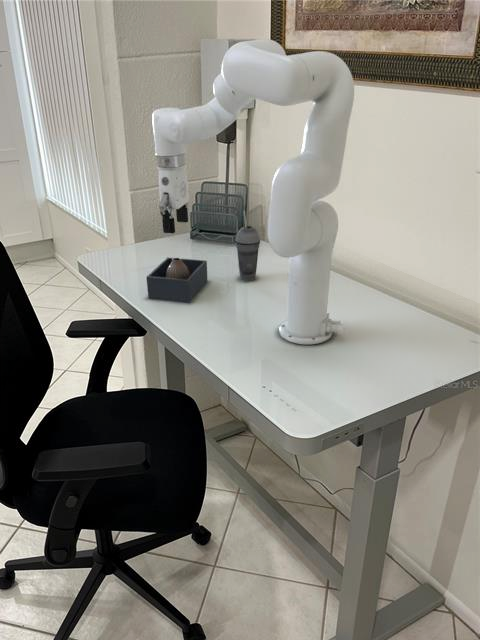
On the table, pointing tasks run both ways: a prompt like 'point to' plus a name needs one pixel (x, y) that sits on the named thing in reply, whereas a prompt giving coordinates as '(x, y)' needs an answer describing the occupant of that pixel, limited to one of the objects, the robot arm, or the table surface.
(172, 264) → the vase
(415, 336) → the table surface
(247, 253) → the beverage cup
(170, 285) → the dark grey open box
